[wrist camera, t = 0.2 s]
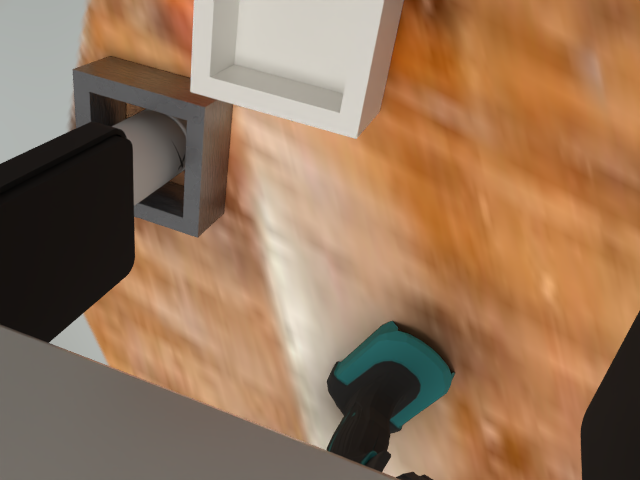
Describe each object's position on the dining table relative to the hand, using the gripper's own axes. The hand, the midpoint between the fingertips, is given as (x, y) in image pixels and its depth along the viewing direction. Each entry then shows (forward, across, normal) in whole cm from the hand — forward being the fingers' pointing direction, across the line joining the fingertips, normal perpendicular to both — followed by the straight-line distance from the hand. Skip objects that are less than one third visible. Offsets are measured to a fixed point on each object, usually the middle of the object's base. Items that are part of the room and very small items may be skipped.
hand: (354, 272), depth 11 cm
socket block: (+37, +26, +17) cm, 48 cm away
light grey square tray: (+37, +14, +3) cm, 39 cm away
